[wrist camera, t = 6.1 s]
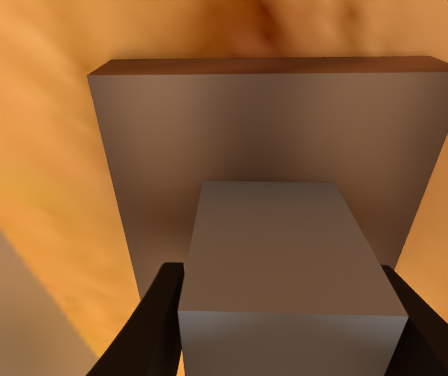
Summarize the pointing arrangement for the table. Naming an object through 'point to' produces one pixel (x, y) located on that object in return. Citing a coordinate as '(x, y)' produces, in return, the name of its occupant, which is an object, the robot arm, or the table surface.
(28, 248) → the table surface
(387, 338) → the slate block
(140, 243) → the walnut slab
